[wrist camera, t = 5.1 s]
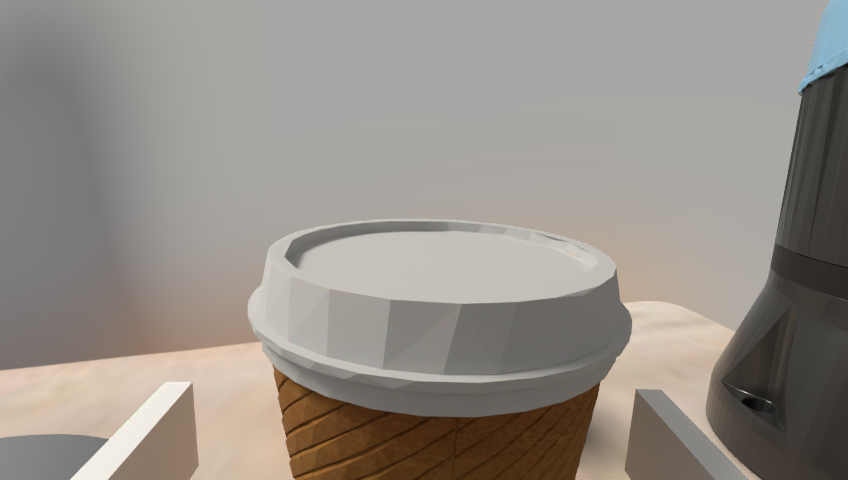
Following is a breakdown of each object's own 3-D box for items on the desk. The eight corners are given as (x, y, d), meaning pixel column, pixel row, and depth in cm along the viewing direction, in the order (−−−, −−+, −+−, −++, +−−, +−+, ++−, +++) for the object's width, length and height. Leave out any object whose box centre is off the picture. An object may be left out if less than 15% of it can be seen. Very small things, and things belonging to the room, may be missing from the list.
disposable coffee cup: (327, 967, 9) (320, 356, 6) (236, 567, 17) (217, 226, 14) (659, 691, 14) (732, 274, 11) (465, 480, 22) (480, 210, 19)
